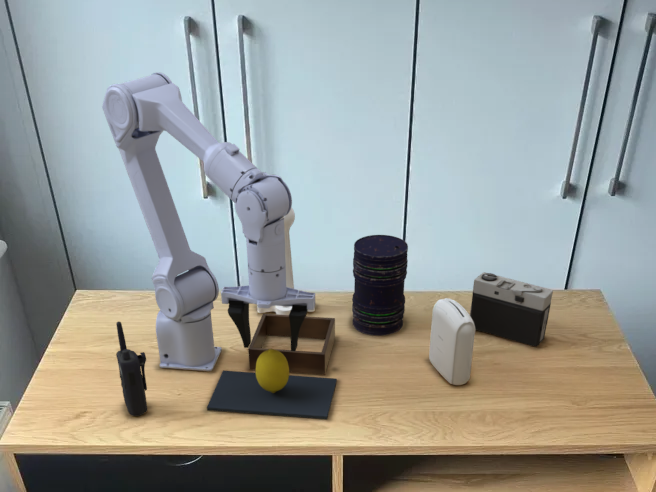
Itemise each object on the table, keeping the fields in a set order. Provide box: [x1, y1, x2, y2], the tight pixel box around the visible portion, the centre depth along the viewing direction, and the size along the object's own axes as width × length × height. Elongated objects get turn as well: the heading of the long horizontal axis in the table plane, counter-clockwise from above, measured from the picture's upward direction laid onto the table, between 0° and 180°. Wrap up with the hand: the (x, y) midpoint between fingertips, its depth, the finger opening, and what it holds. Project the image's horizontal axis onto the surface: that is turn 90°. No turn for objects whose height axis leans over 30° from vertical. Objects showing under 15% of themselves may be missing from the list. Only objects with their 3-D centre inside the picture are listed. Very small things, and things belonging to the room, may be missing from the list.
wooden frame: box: [247, 313, 336, 376], centre depth 153 cm, size 13×13×4 cm
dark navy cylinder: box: [351, 234, 409, 337], centre depth 158 cm, size 10×10×15 cm
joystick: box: [256, 206, 316, 315], centre depth 159 cm, size 11×8×20 cm
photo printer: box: [428, 297, 476, 386], centre depth 146 cm, size 10×4×12 cm, turn 20°
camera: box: [469, 271, 554, 348], centre depth 158 cm, size 14×8×10 cm, turn 58°
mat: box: [206, 370, 338, 420], centre depth 144 cm, size 20×12×1 cm, turn 83°
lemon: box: [255, 348, 290, 393], centre depth 141 cm, size 6×6×8 cm
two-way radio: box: [115, 321, 148, 417], centre depth 136 cm, size 6×4×15 cm
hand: (270, 346), depth 139 cm, fingers open, 7 cm apart
